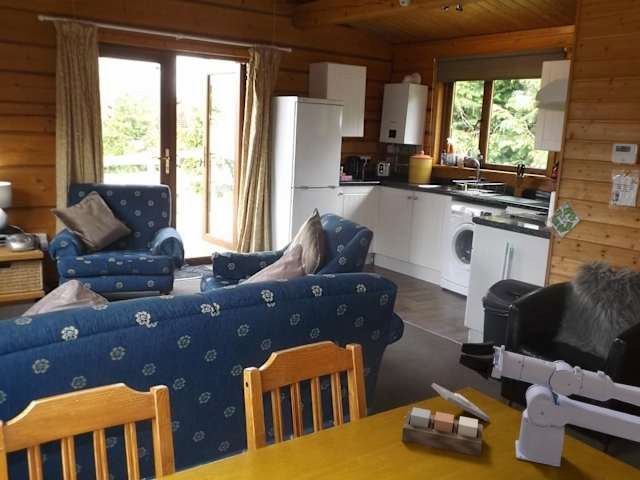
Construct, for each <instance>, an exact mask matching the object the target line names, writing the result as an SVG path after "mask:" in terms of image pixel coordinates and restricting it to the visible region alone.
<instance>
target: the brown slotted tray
mask: <svg viewBox="0 0 640 480" xmlns="http://www.w3.org/2000/svg"><path fill="white" fill-rule="evenodd" d="M411 413H412V410H408V411H407V414H406V417H405V420H404V422H403V425H402V436H401V442H404V443H405V442H406V443H409V444H415V445H419V446H424V447H428V448H429V447H430V448H435V449H439V450H443V451H448V452H449V451H450V452H453V453H458V454H462V455H463V454H464V455H467V456H473V457H477V458H480V457H481V453H482V444H483V424H480V423H478V427H477V435H476V438H475V437H470V436H465V435H460V434H458V428H459V420H460V419H459V420H458V419H455V418H454V420H453V428H452V433H449V432H444V431H439V430H434V421H435V416H436V415H434V414H430V420H429V425H428V428H424V427H419V426H414V425H410V419H411Z"/></svg>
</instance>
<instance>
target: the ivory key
mask: <svg viewBox="0 0 640 480" xmlns="http://www.w3.org/2000/svg"><path fill="white" fill-rule="evenodd" d="M478 424H479V419H476V418H471V417H467V416H459V428H458V434H460V435H465V436H470V437H475V438H476V435H477V427H478Z"/></svg>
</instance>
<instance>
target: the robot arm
mask: <svg viewBox="0 0 640 480" xmlns="http://www.w3.org/2000/svg"><path fill="white" fill-rule="evenodd" d="M505 347H506V346H505V345H501V346H500V347H499V346H495V345H494V340H489V341H484V342H462V345H461V351H460V352H461V354H460V357H459V362H458V363H459V365H461V366H464V367H466V368H468V369H469V370H471V371H474V372H475V373H476V374H478V375H480V376H481V377H482V378H483V379H484V380H486V381H489V378H490V376H491V377H492V378H496V379H499V380H500V379H501V376H502V377H505V378H509V379H514V380H517V381H522V382H526V383H530V384H533V385H531V386H529V387H528V388H527V390H526V393H525V399H526V409H525V410H524V411H523V412H522V415H521V423H520V431H519V437H518V439H517V440H515V442H514V443H515V445H514V446H515V457H516V459H519V460H523V461H528V462H533V463H539V464H542V465H548V466H554V467H556V468H557V467H558V468H559V467H561V459H562V455H563V454H562V453H563V448H564V447H563V446H564V440H565V425H566V424H570V425H574V426H577V427H580V428H584V429H589V430H592V431H595V432H599V433H603V434H607V435H611V436H615V437H619V438H623V439H626V440H629V441H633V442H638V443H640V416H637V415H633V414H629V413H626V412H621V411H617V410H614V409H613V410H612V409H610V408H605V407H602V406H597V405H593V404H589V403H586V402H581V401H578V400H574V399H571V398H569V397H568V396H571V395H577V396H580V397H586V398H589V399H592V400H597V401H601V402H605V401H608V400H610V399H615V400H618V401H621V402H624V403H629V404H630V405H631V404H632V405H635V406H637V407H640V387H638V386H634V385H633V386H632V385H627V384H622V383H617V382H614V381H613V380H612V378H611V377H610V376H609V375H606V374H605V372H604V371H601V370H597V372H594V371H590V370H585V369H581V367H580V366H577V365H576V366H574V367H572V366H571V365H570V364H569V363H567V362H565V360H555V361H553V362H552V361H547V360H543V359H541V358H537V357H531V356H527V355H523V354H520V353H515V352H512V351H511V352H510V351H508V350H505V349H506V348H505Z"/></svg>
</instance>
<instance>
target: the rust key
mask: <svg viewBox="0 0 640 480" xmlns="http://www.w3.org/2000/svg"><path fill="white" fill-rule="evenodd" d="M434 416H435V421H434V430H439V431H444V432H449V433H452V428H453V420H454V419H455V418H454V417H455V415H454V414H450V413H445V412H440V411H436V412H435V415H434Z"/></svg>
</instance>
